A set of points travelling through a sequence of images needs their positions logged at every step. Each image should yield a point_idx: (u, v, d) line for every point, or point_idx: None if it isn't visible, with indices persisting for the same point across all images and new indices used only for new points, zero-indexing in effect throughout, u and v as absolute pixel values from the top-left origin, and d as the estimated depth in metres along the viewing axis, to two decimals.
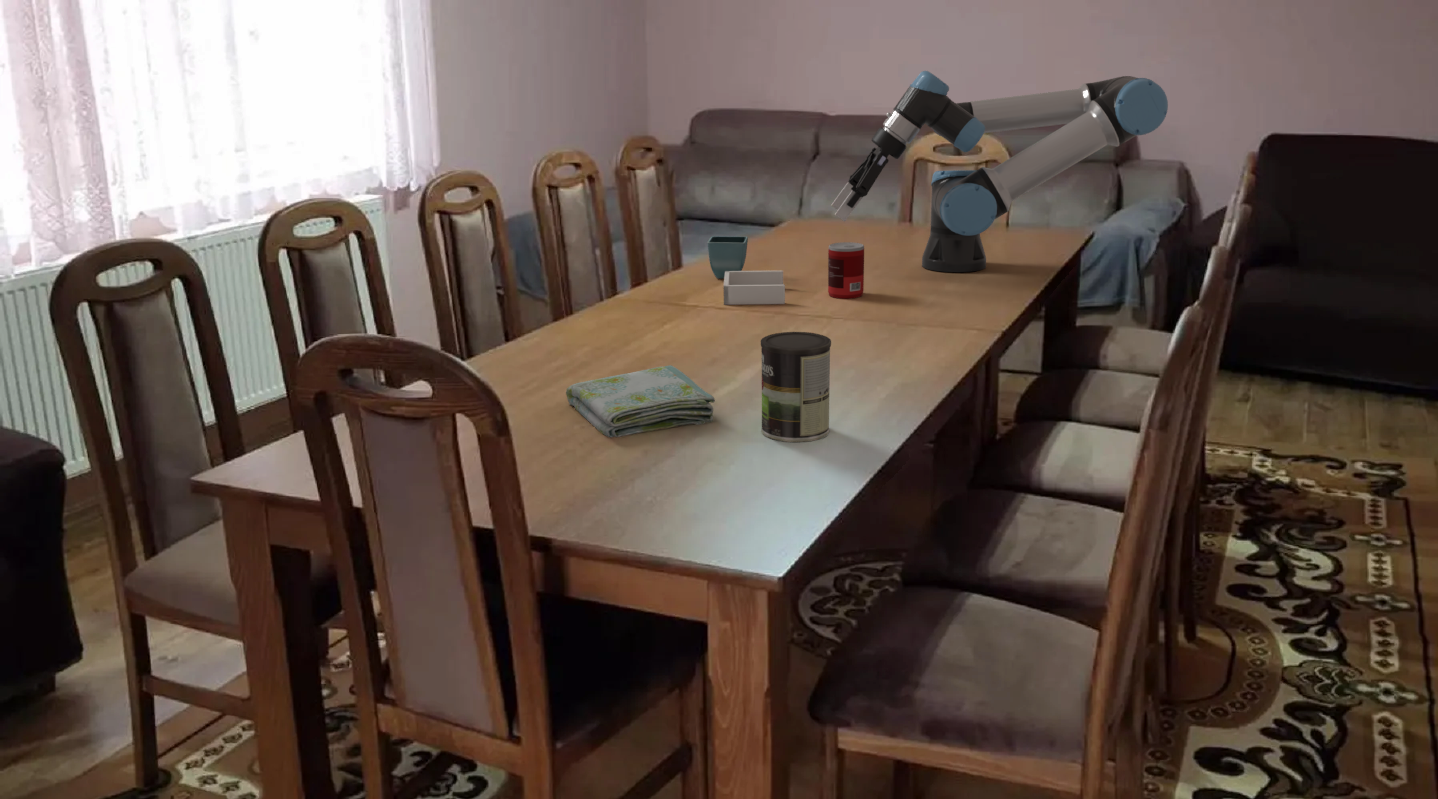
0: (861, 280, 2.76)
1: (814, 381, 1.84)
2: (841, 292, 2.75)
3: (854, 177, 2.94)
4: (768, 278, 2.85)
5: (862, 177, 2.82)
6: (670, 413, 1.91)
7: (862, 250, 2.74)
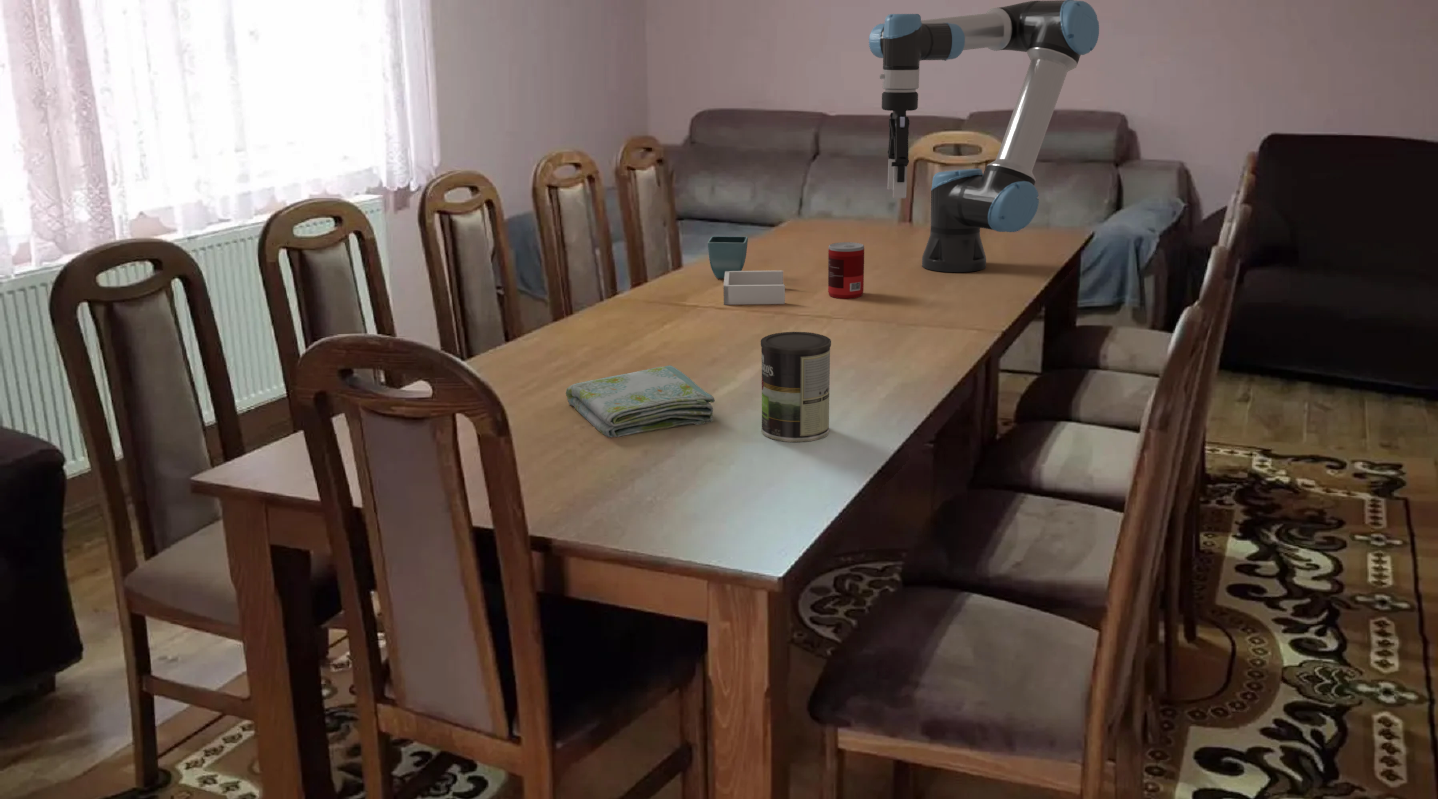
0: (861, 280, 2.76)
1: (814, 381, 1.84)
2: (841, 292, 2.75)
3: (891, 151, 2.76)
4: (768, 278, 2.85)
5: (895, 148, 2.64)
6: (670, 413, 1.91)
7: (862, 250, 2.74)
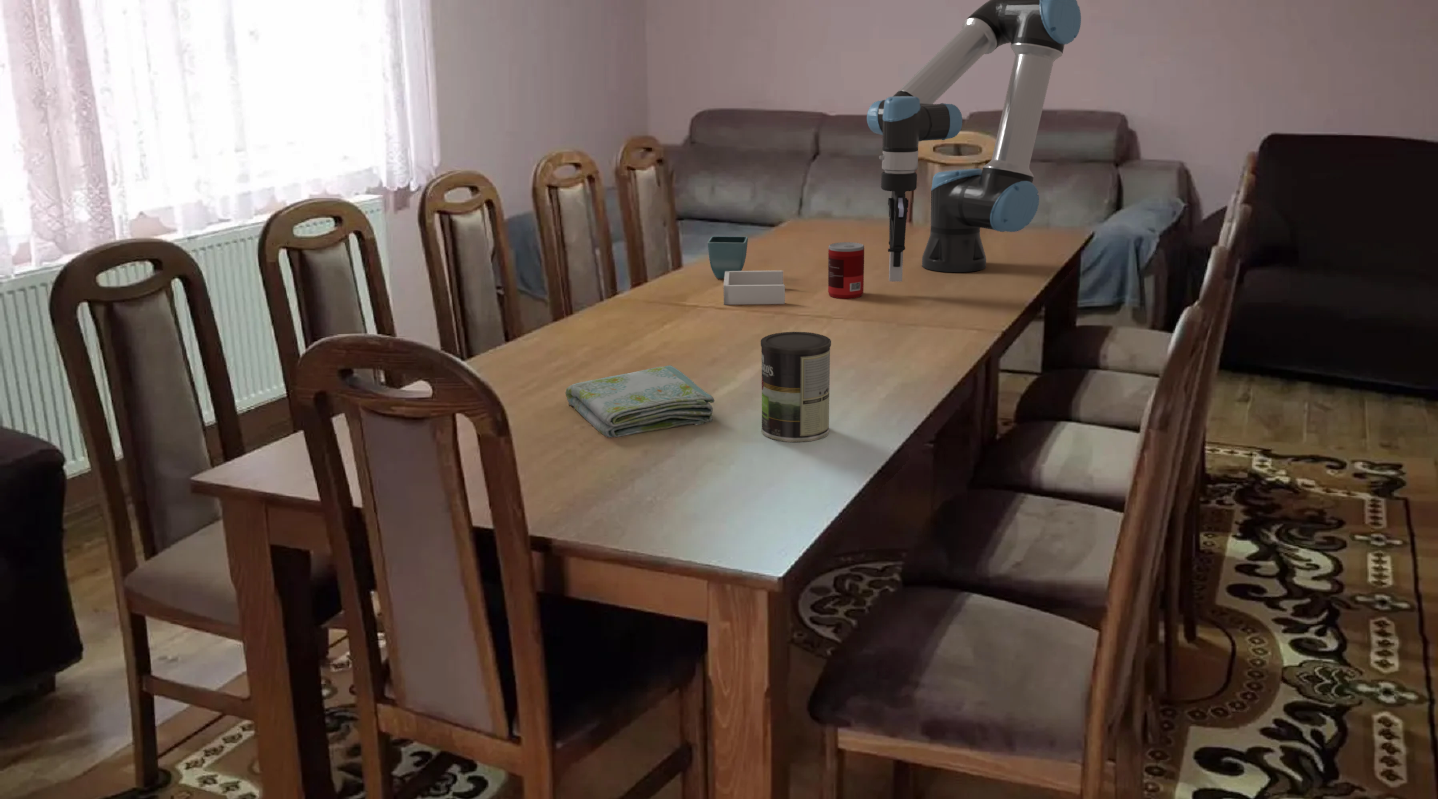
0: (861, 280, 2.76)
1: (814, 381, 1.84)
2: (841, 292, 2.75)
3: (892, 238, 2.76)
4: (768, 278, 2.85)
5: (892, 234, 2.73)
6: (669, 413, 1.91)
7: (862, 250, 2.74)
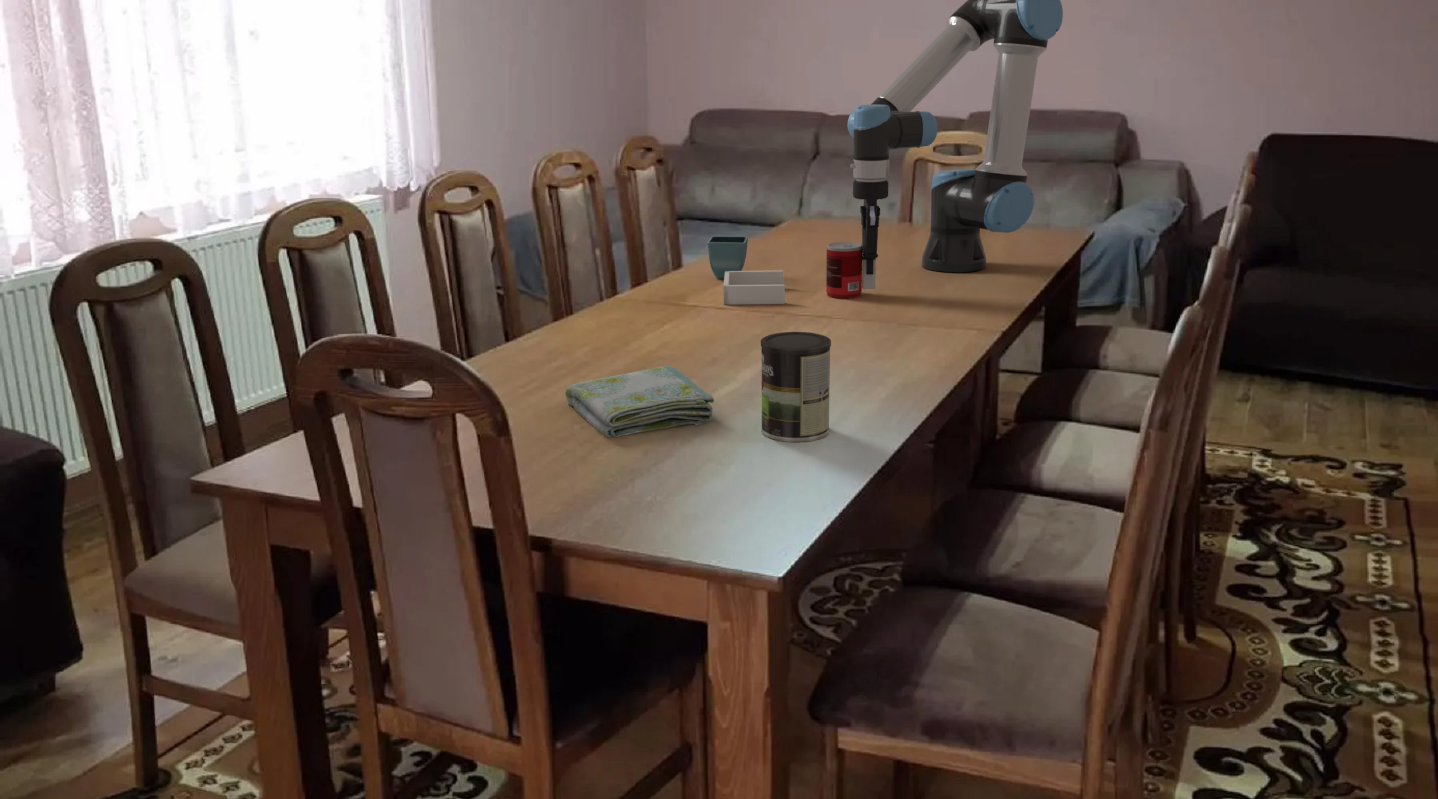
0: (859, 280, 2.76)
1: (814, 381, 1.84)
2: (839, 292, 2.75)
3: None
4: (768, 278, 2.85)
5: (865, 242, 2.73)
6: (669, 413, 1.91)
7: (860, 249, 2.74)
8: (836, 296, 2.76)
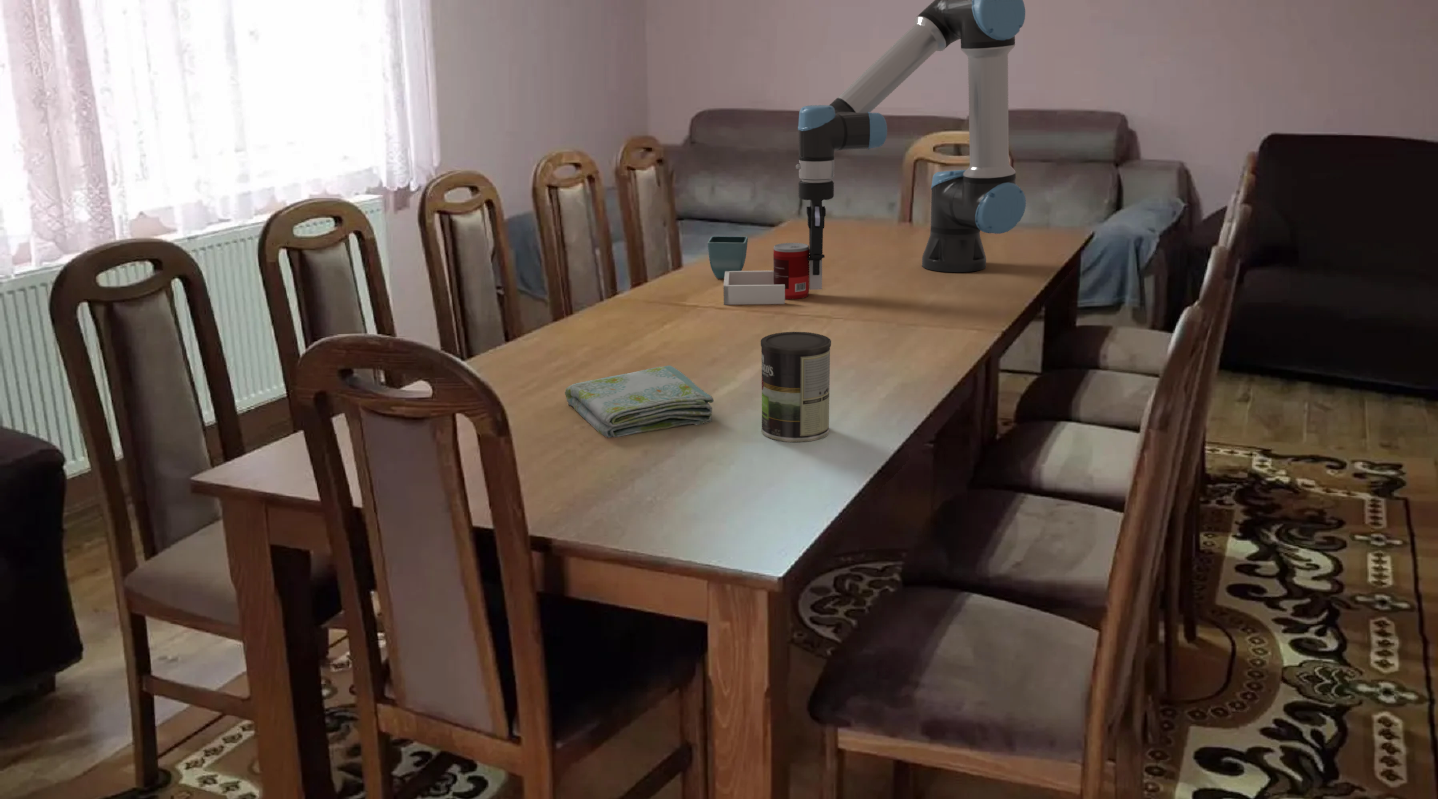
0: (806, 280, 2.76)
1: (814, 381, 1.84)
2: (786, 293, 2.75)
3: None
4: (768, 278, 2.85)
5: None
6: (669, 413, 1.91)
7: (807, 250, 2.74)
8: None
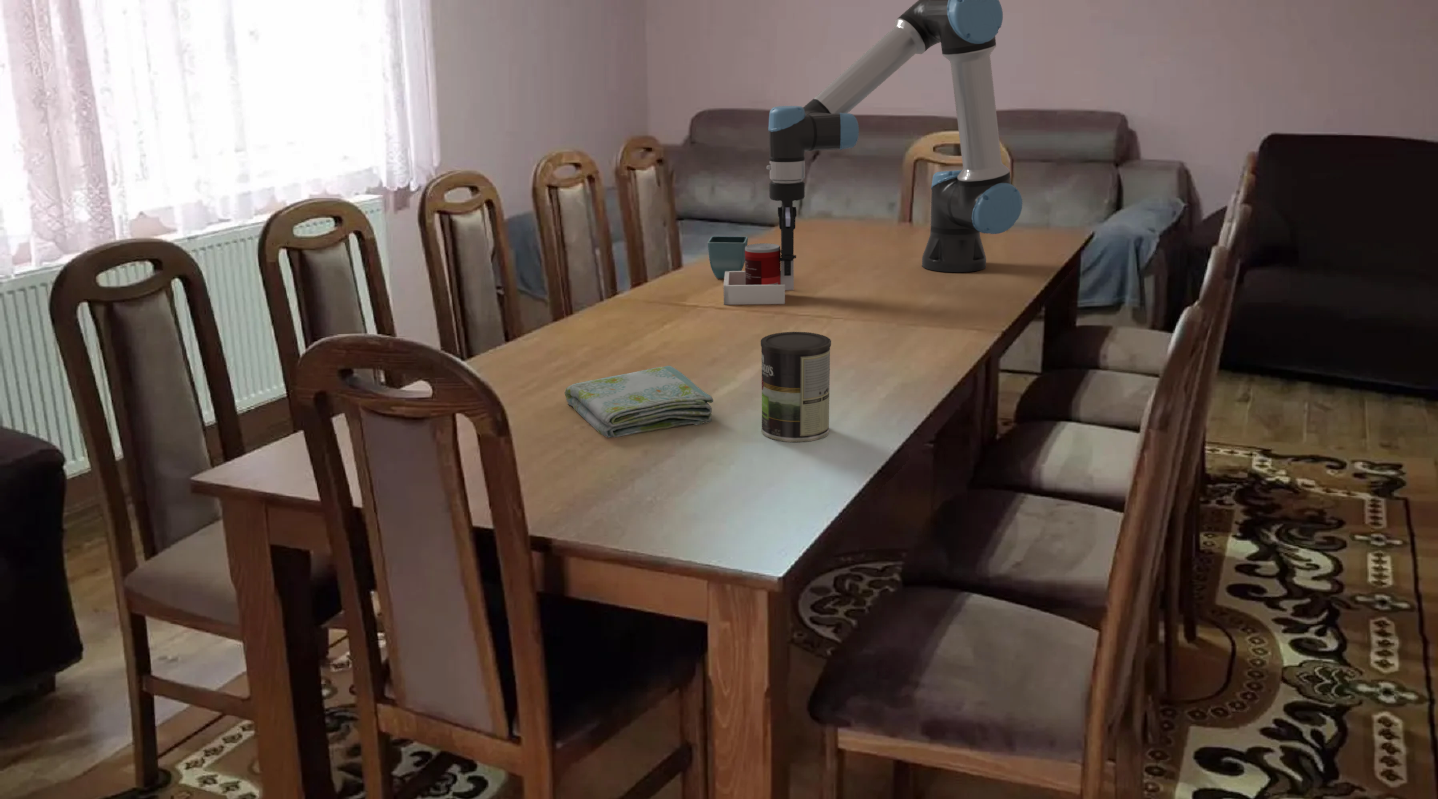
0: (778, 281, 2.76)
1: (814, 381, 1.84)
2: None
3: None
4: None
5: None
6: (668, 413, 1.91)
7: (778, 250, 2.75)
8: None
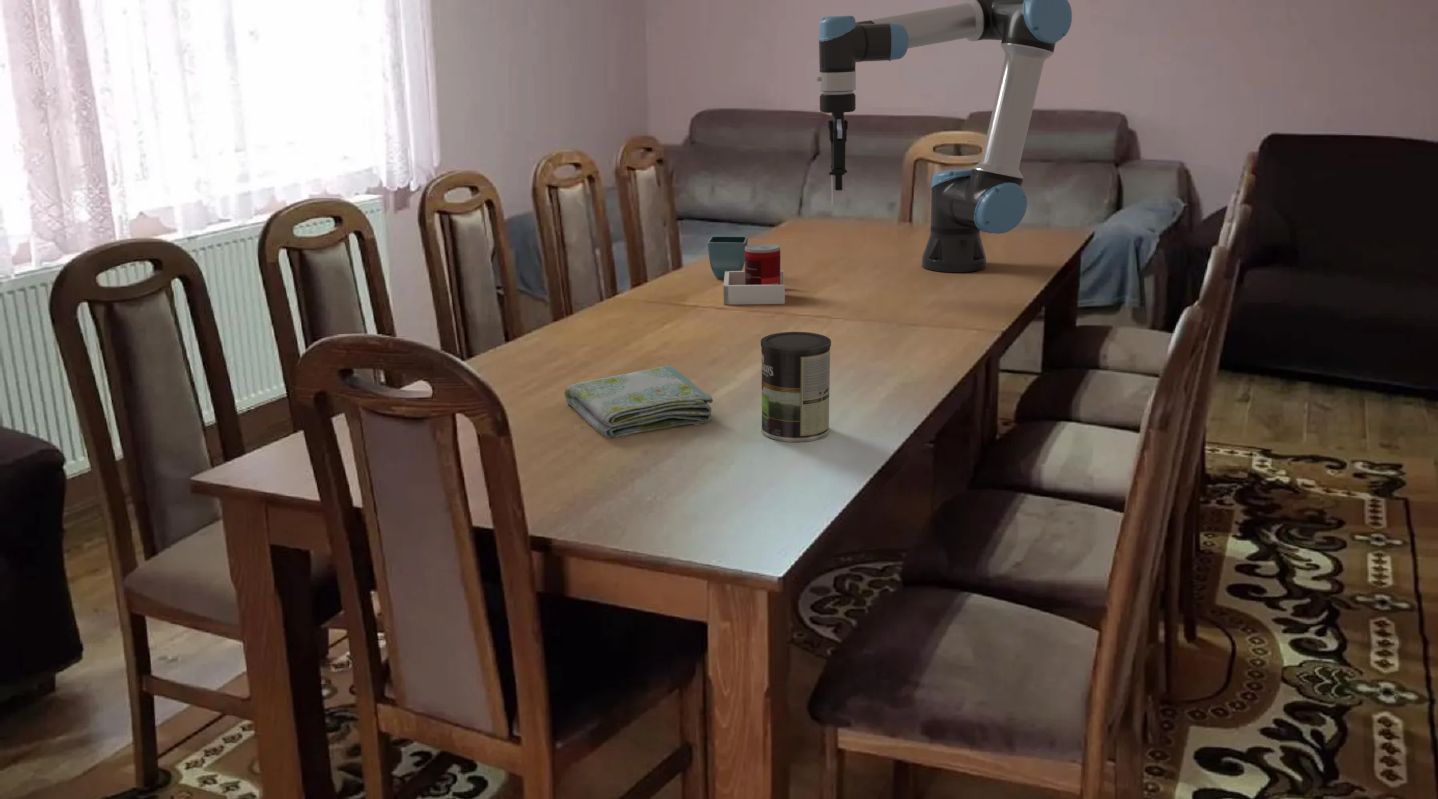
0: (778, 281, 2.76)
1: (814, 381, 1.84)
2: None
3: None
4: None
5: None
6: (668, 413, 1.91)
7: (778, 251, 2.75)
8: None
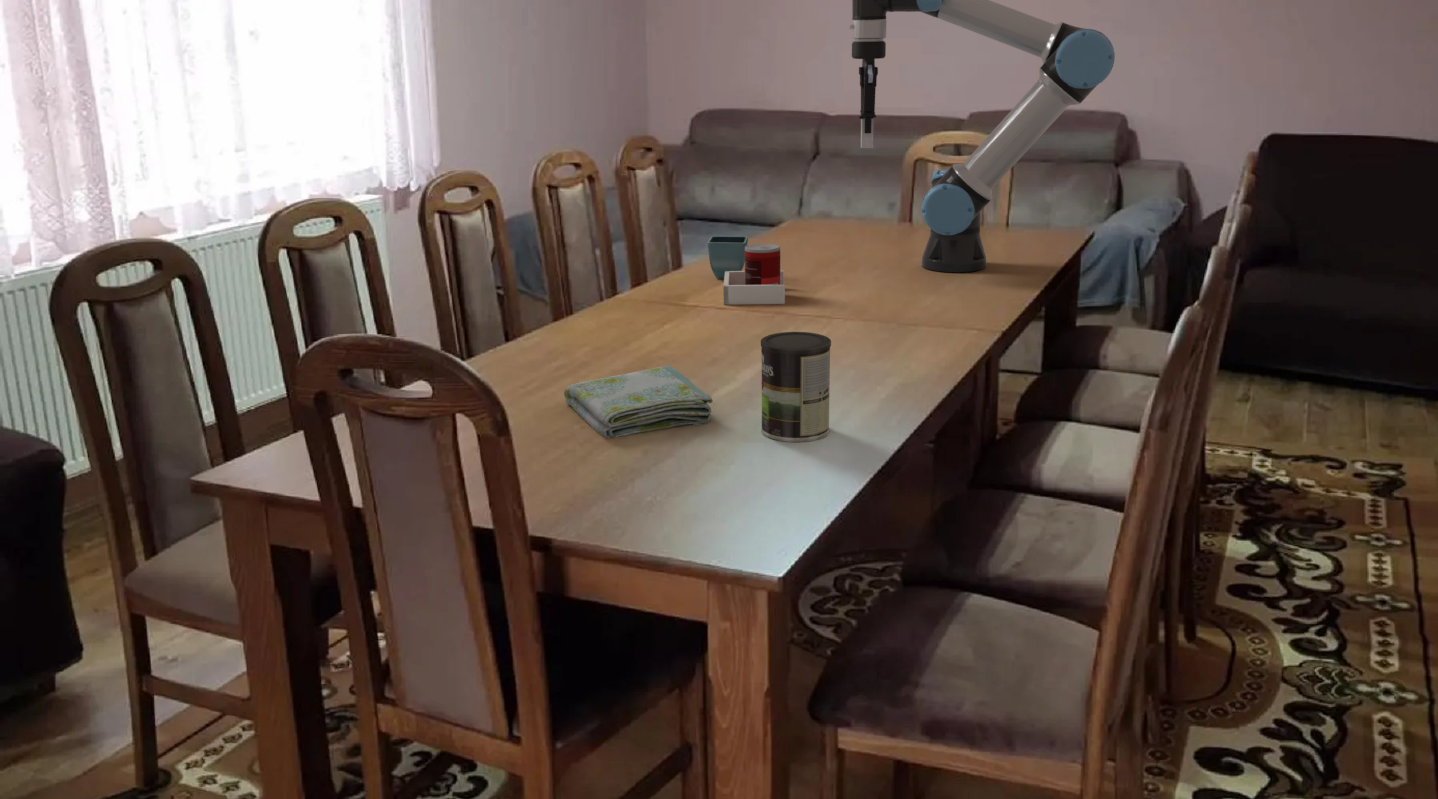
0: (778, 281, 2.76)
1: (814, 381, 1.84)
2: None
3: (863, 106, 2.89)
4: None
5: (863, 101, 2.86)
6: (667, 413, 1.91)
7: (778, 251, 2.75)
8: None
